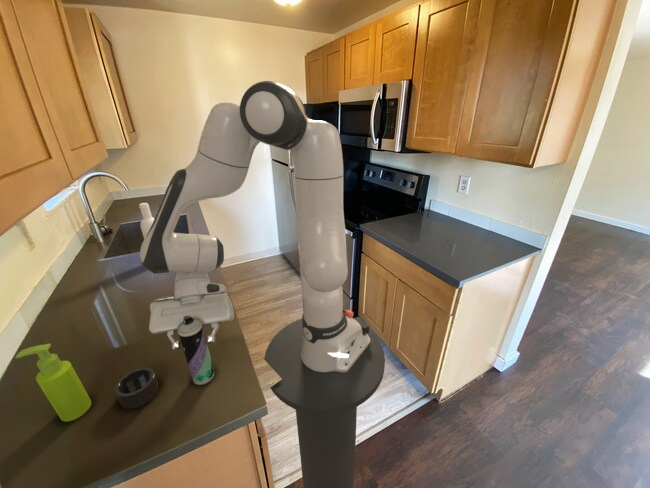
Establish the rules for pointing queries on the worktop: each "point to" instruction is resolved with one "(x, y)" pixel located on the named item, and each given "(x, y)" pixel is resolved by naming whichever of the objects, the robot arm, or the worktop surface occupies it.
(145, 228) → the bottle
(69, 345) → the worktop surface
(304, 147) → the robot arm
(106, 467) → the worktop surface
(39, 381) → the soap dispenser
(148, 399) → the dark round bowl
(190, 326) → the spray can
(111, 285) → the worktop surface
